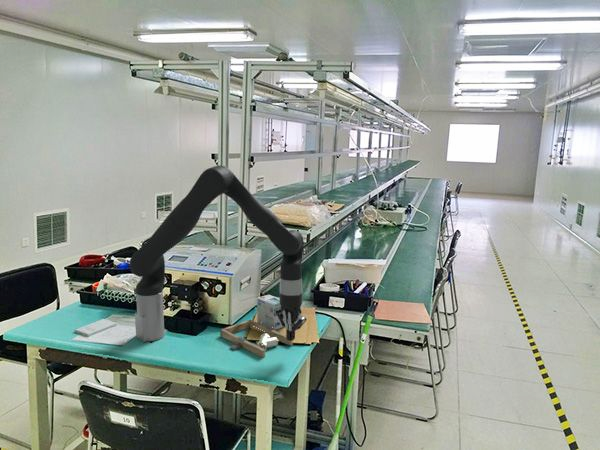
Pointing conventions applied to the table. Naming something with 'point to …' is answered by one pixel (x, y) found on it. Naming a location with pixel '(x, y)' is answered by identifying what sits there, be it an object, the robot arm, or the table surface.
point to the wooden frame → (247, 345)
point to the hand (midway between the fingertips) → (290, 339)
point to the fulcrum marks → (233, 347)
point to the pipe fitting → (267, 341)
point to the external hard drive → (96, 327)
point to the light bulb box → (268, 311)
